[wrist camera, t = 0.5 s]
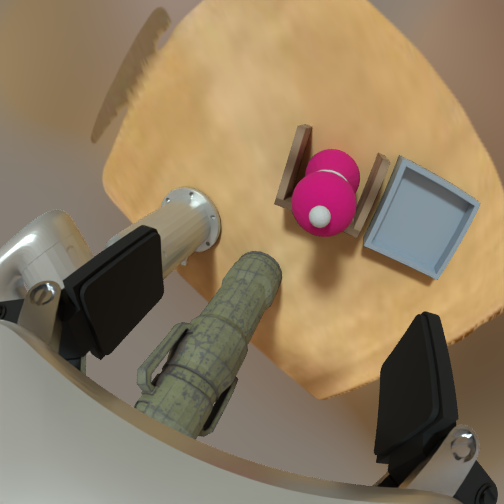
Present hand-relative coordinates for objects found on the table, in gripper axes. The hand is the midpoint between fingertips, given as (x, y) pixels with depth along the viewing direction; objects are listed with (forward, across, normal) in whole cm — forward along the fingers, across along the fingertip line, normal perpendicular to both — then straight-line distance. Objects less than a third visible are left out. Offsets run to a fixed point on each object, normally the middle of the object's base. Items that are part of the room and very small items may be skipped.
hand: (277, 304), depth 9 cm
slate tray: (+33, -15, +5) cm, 36 cm away
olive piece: (+33, +8, +23) cm, 41 cm away
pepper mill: (+33, 0, +2) cm, 33 cm away
